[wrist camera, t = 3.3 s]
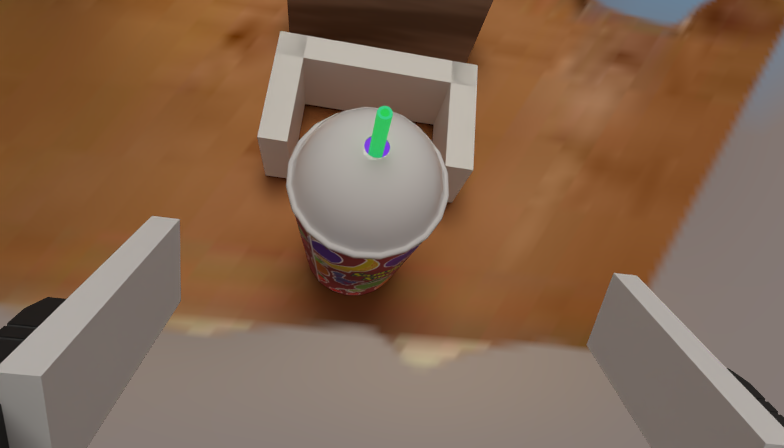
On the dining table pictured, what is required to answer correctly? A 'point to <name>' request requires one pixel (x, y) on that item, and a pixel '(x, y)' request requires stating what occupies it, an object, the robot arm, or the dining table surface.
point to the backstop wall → (394, 24)
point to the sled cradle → (368, 96)
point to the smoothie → (365, 195)
